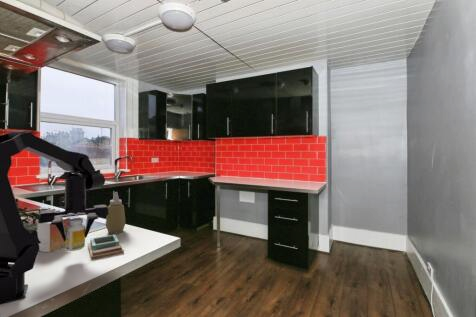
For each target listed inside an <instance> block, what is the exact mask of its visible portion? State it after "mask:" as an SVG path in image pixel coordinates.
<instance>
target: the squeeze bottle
mask: <svg viewBox="0 0 476 317" xmlns="http://www.w3.org/2000/svg"><path fill="white" fill-rule="evenodd" d="M122 203H123V202H122V199H120V198H119V194H118V191H115V192H114V193H113V198H112V199H110V200H109V205H108V206H107V207H108V210H109V215H107V216H105V217H106V218H105V227H106V229H107V230H106V231H107V232H108V234H110V235H116V234H120V233H122V232H124V229H125V227H126V215H125V214H126V213H125V206H124V204H122Z"/></svg>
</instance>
